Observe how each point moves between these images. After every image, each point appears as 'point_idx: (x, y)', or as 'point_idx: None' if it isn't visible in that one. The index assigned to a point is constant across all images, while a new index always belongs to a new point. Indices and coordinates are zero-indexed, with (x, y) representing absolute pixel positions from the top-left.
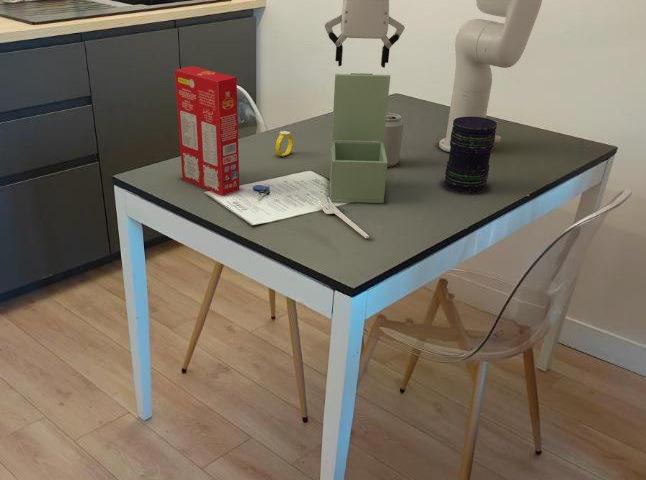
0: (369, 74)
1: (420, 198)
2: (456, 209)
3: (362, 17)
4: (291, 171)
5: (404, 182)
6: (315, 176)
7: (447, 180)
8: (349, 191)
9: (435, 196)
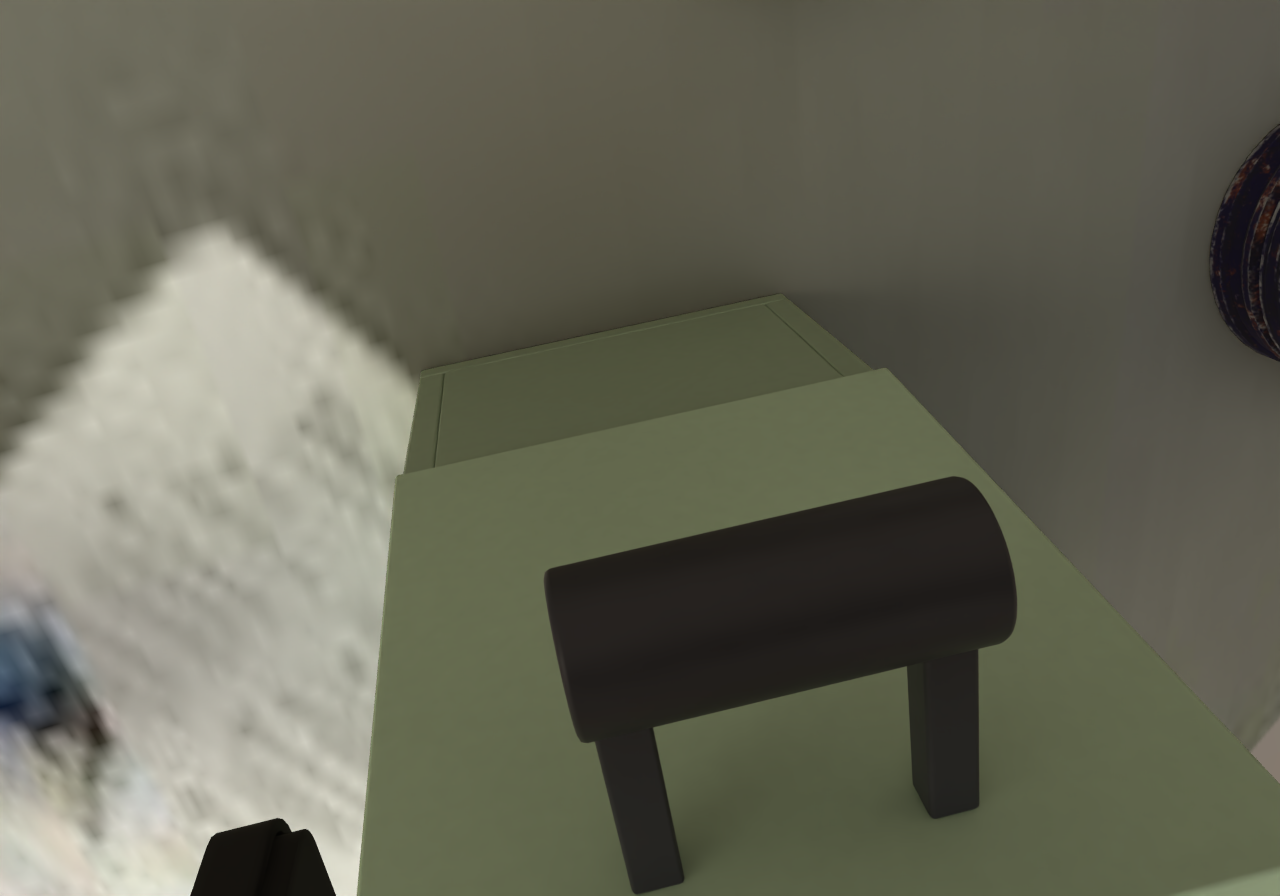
0: (953, 641)
1: (1039, 514)
2: (1216, 604)
3: None
4: (64, 281)
5: (951, 270)
6: (295, 336)
7: (1252, 313)
8: None
9: (1129, 457)
